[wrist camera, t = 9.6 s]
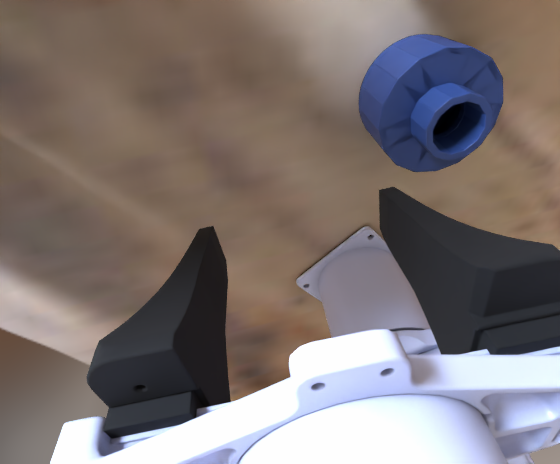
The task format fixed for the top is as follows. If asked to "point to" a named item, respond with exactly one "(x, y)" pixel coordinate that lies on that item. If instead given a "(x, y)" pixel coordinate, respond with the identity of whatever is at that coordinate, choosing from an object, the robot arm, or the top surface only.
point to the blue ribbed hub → (430, 101)
